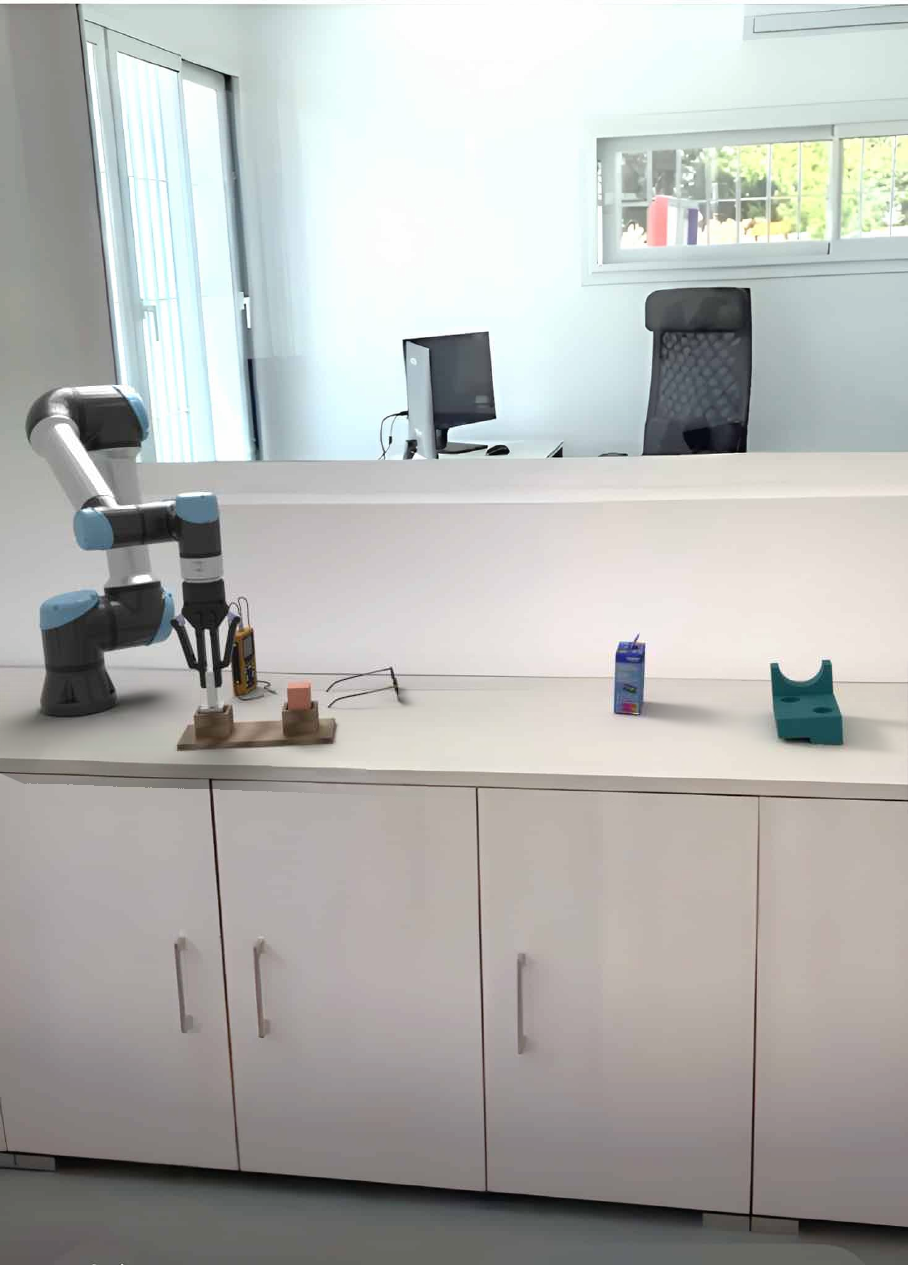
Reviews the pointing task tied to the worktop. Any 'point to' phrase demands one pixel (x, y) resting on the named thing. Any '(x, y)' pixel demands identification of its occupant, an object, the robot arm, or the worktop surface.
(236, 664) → the multimeter
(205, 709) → the steel plug
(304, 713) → the socket panel
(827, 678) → the teal l-shaped bracket
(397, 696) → the sunglasses
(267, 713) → the worktop surface
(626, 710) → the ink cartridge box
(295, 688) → the salmon pink plug
